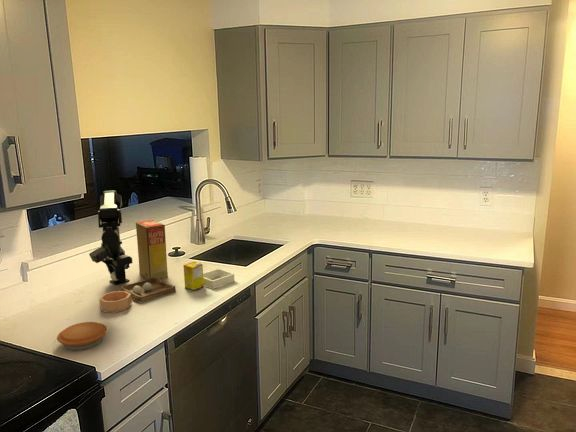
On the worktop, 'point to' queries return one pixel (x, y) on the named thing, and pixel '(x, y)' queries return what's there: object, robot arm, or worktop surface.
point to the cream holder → (226, 279)
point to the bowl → (115, 301)
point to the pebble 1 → (113, 276)
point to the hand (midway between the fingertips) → (115, 278)
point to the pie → (82, 335)
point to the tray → (156, 291)
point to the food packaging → (151, 249)
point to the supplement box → (193, 276)
